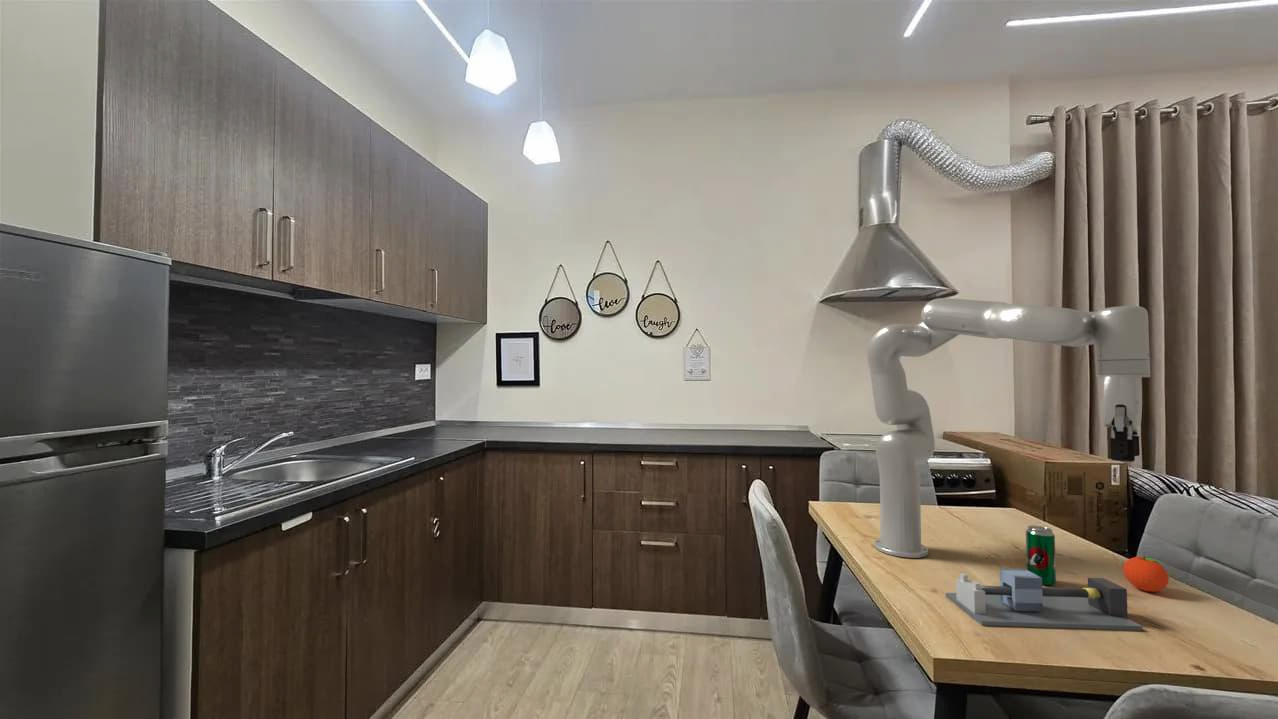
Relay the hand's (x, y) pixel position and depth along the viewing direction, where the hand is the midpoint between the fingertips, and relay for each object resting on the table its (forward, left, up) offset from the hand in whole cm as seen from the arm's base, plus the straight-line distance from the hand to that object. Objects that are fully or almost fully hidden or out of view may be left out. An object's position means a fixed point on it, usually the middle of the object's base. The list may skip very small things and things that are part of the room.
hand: (1125, 457), depth 96 cm
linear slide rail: (-1, -16, -30) cm, 34 cm away
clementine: (-13, +15, -31) cm, 36 cm away
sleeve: (0, -20, -29) cm, 35 cm away
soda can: (-16, -5, -31) cm, 35 cm away
